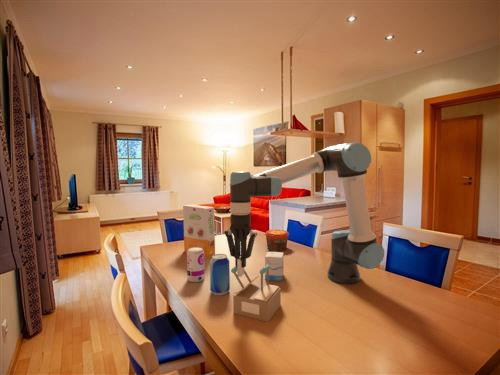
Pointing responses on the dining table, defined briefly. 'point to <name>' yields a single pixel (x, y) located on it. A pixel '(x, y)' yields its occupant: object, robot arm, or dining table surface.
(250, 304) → the carton
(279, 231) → the food container
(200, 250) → the supplement can
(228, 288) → the beer can
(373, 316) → the dining table surface
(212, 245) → the cereal box
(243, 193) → the robot arm
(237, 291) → the far flap
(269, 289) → the near flap
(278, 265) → the ink box
